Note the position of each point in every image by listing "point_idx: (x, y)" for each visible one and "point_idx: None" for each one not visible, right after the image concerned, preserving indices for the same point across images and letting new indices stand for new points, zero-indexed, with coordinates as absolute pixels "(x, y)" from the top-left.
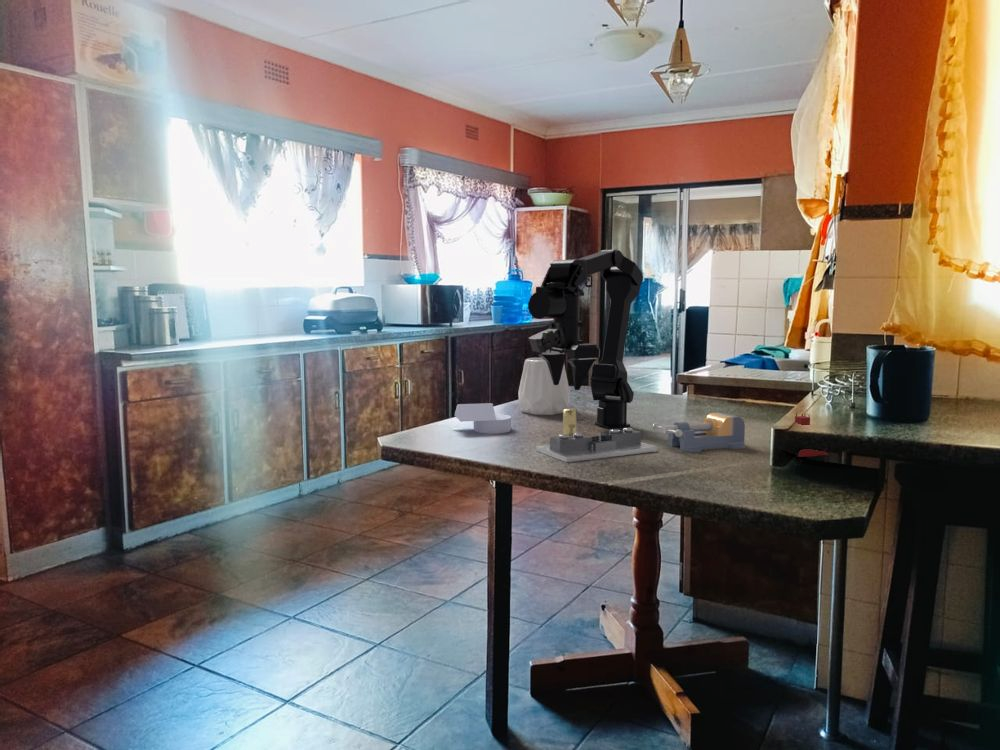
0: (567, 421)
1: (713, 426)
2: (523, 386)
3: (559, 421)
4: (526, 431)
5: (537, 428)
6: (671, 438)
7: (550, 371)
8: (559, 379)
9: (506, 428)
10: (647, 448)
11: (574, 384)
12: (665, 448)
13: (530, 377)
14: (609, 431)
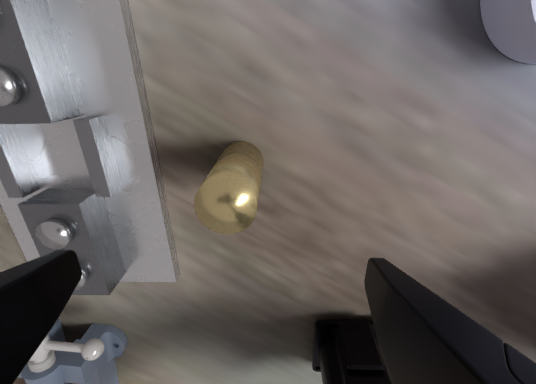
0: (214, 167)
1: None
2: None
3: (512, 282)
4: (455, 108)
5: (472, 171)
6: (83, 339)
7: (469, 333)
8: (374, 322)
9: (494, 5)
10: (26, 257)
11: (25, 268)
12: (76, 304)
13: None
14: (57, 221)
